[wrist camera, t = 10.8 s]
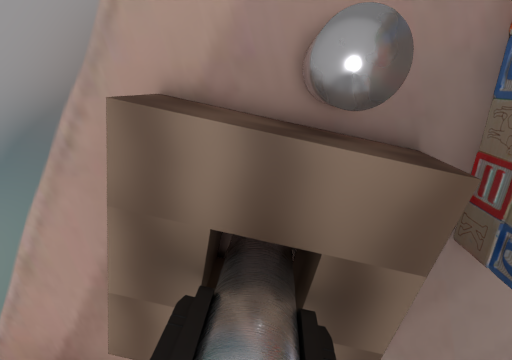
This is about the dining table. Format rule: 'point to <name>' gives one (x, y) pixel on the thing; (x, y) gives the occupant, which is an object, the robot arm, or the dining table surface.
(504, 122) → the stack of blocks
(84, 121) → the dining table surface
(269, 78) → the dining table surface
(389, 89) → the grey metal cylinder
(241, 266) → the long pin
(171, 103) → the hole block
